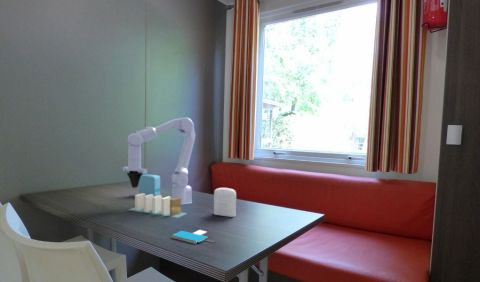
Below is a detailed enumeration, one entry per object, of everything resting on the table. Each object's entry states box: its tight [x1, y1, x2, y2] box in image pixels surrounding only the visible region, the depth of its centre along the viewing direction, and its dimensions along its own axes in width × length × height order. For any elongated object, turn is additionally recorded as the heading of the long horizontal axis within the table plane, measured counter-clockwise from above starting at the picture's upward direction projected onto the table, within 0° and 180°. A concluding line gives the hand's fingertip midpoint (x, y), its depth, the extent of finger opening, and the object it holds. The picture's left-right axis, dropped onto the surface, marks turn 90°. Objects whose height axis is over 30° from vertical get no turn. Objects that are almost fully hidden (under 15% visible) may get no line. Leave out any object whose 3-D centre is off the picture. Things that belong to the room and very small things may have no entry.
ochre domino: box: [170, 197, 182, 216], centre depth 132 cm, size 2×5×7 cm, turn 145°
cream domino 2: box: [143, 194, 153, 213], centre depth 138 cm, size 2×5×7 cm, turn 156°
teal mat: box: [128, 207, 188, 218], centre depth 136 cm, size 28×7×1 cm, turn 67°
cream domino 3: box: [152, 194, 163, 213], centre depth 136 cm, size 2×5×7 cm, turn 157°
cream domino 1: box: [134, 193, 145, 210], centre depth 140 cm, size 2×5×7 cm, turn 157°
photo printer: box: [213, 187, 237, 218], centre depth 132 cm, size 10×4×12 cm, turn 72°
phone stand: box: [171, 229, 217, 245], centre depth 107 cm, size 20×12×2 cm, turn 61°
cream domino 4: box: [161, 195, 172, 216], centre depth 134 cm, size 2×5×7 cm, turn 157°
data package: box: [138, 173, 161, 197], centre depth 167 cm, size 12×4×12 cm, turn 62°
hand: (134, 187), depth 141 cm, fingers closed
